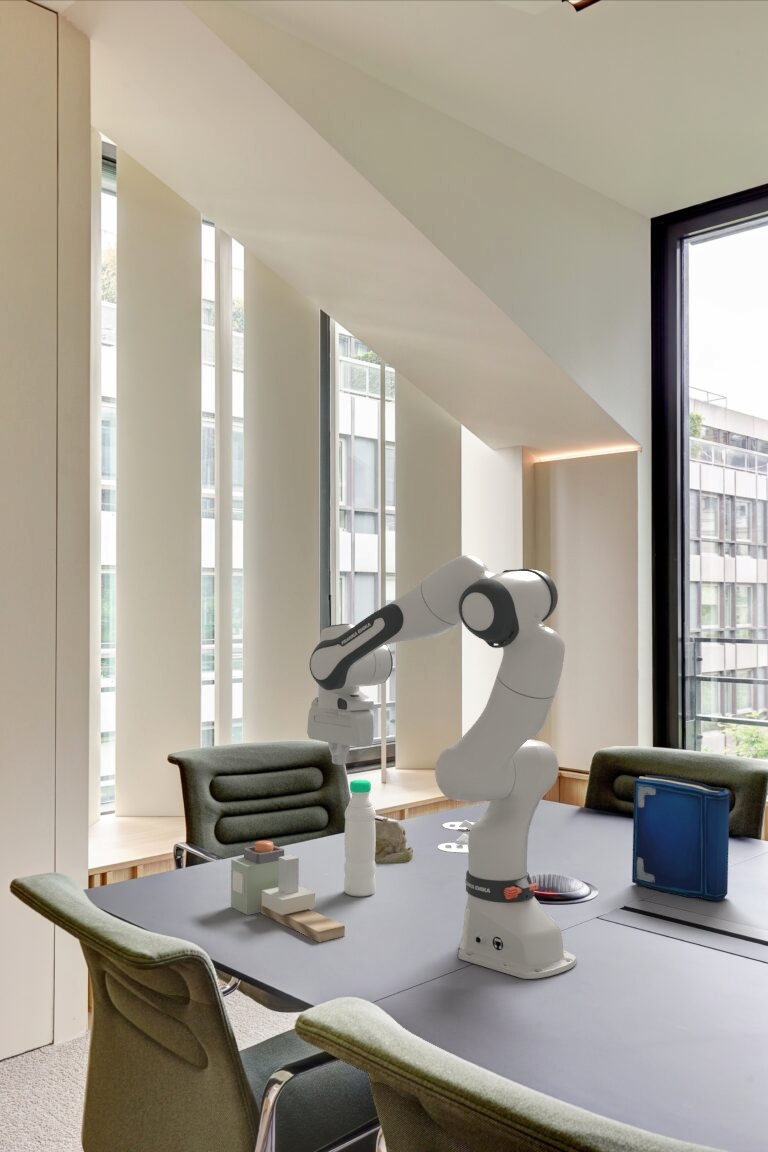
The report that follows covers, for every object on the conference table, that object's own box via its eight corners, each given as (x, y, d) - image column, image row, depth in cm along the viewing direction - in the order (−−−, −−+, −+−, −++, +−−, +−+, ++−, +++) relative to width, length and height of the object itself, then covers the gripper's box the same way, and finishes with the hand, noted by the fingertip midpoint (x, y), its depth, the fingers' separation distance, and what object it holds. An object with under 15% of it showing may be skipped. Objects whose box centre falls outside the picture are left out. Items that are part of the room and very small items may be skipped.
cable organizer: (443, 823, 284) (443, 812, 284) (524, 826, 281) (524, 814, 281) (436, 853, 249) (436, 840, 249) (528, 857, 246) (528, 843, 246)
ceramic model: (354, 861, 239) (354, 821, 240) (363, 850, 250) (363, 812, 251) (409, 864, 237) (409, 824, 237) (416, 853, 248) (416, 814, 248)
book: (734, 898, 210) (733, 785, 211) (721, 905, 205) (720, 789, 206) (644, 879, 225) (644, 773, 225) (630, 885, 219) (629, 777, 220)
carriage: (315, 907, 195) (315, 858, 195) (281, 915, 190) (282, 864, 190) (294, 898, 201) (294, 850, 201) (261, 905, 196) (262, 856, 196)
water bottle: (371, 898, 209) (372, 784, 209) (340, 896, 210) (341, 783, 211) (378, 889, 215) (378, 778, 216) (348, 887, 217) (348, 777, 218)
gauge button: (276, 857, 203) (276, 843, 203) (260, 860, 201) (260, 846, 201) (267, 853, 206) (267, 839, 207) (251, 856, 204) (251, 842, 204)
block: (344, 935, 184) (344, 925, 185) (318, 942, 181) (319, 931, 181) (285, 907, 202) (285, 897, 202) (260, 912, 198) (260, 903, 198)
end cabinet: (295, 904, 204) (296, 848, 205) (245, 915, 197) (245, 857, 197) (279, 896, 210) (279, 841, 210) (229, 906, 202) (229, 850, 203)
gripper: (300, 697, 210) (300, 759, 209) (354, 703, 194) (354, 771, 193) (324, 695, 214) (324, 757, 213) (378, 701, 198) (379, 768, 197)
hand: (339, 764), depth 203 cm, fingers closed
